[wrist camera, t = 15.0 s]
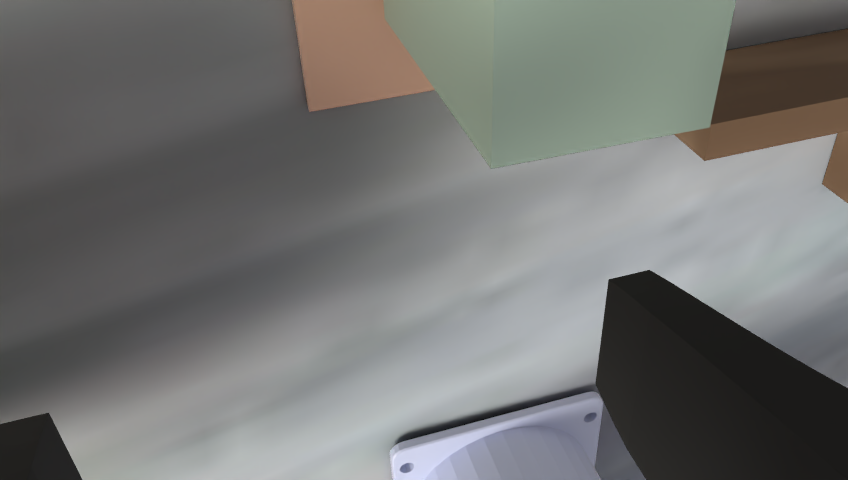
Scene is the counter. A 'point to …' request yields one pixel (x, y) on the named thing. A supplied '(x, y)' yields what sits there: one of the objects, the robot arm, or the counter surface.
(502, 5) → the sage block
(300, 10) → the tile
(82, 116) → the counter surface
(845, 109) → the channel
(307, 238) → the counter surface
